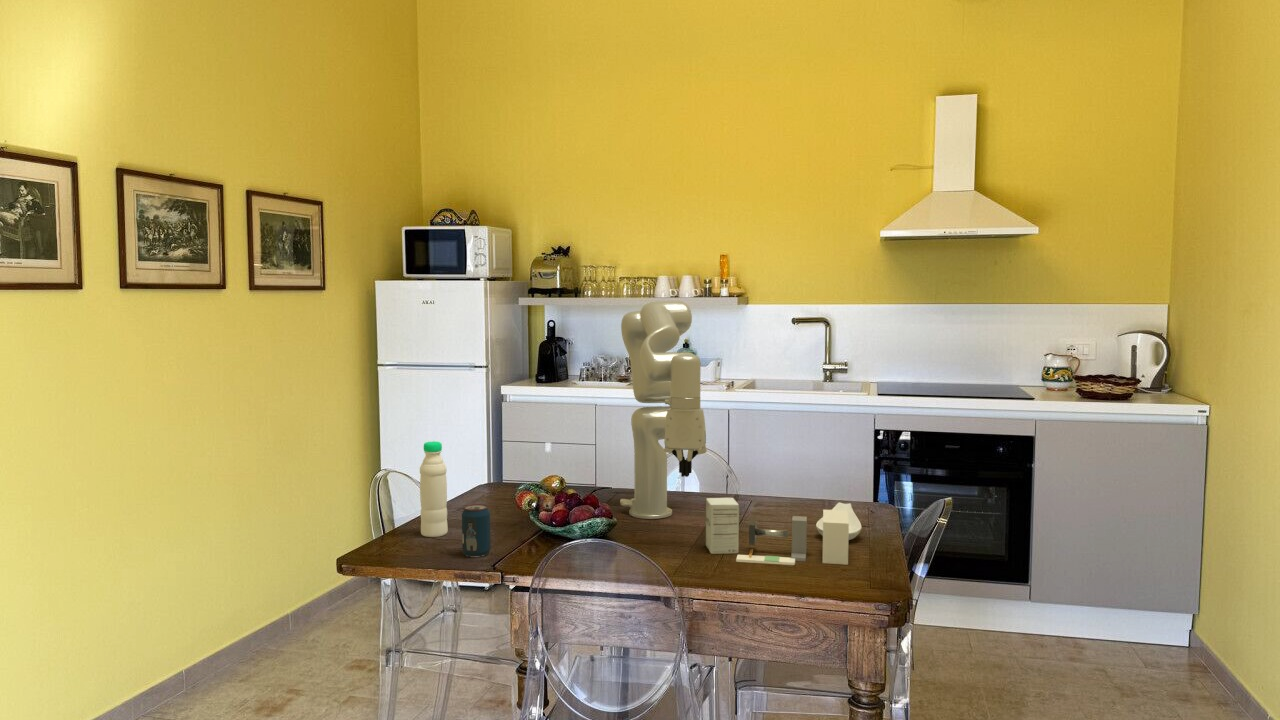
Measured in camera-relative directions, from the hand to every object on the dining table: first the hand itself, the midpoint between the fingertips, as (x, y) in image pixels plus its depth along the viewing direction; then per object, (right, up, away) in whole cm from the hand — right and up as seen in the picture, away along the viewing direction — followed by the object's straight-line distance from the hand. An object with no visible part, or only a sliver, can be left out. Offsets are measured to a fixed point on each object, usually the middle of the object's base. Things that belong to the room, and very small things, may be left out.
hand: (685, 475), depth 231 cm
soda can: (-52, -19, -4) cm, 56 cm away
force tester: (+26, -19, -5) cm, 33 cm away
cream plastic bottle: (-67, -18, +14) cm, 71 cm away
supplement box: (+9, -19, 0) cm, 21 cm away
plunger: (+20, -18, -5) cm, 28 cm away
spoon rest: (+43, -18, +16) cm, 49 cm away
